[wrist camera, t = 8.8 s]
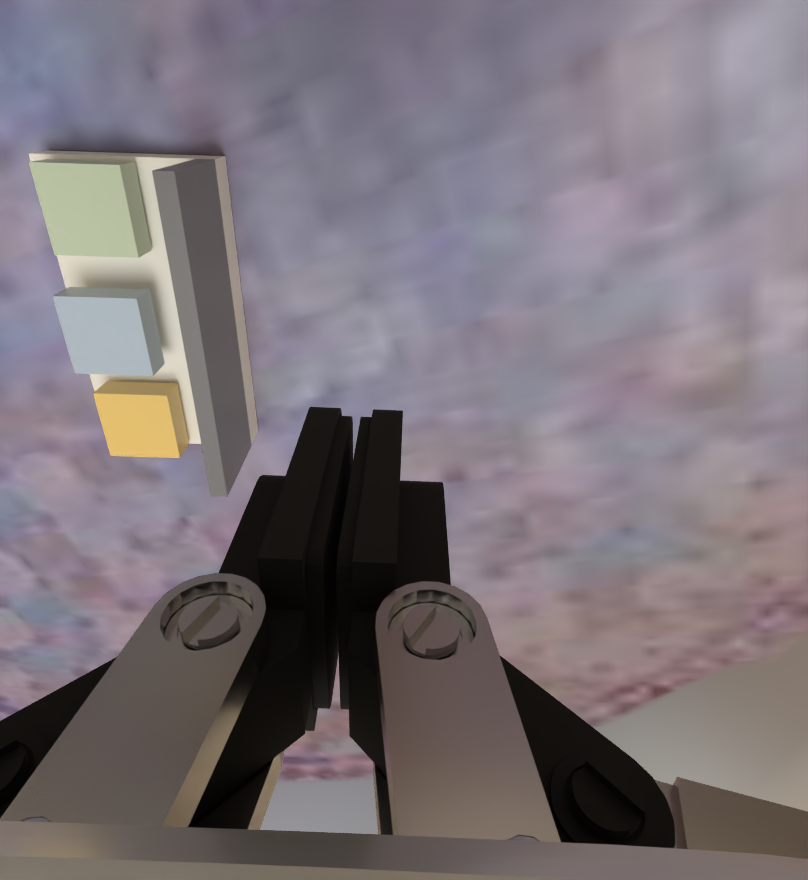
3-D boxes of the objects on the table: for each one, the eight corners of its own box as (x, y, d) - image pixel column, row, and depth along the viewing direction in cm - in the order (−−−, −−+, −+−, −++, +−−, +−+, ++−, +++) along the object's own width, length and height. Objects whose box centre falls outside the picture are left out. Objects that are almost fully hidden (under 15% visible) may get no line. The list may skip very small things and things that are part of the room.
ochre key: (106, 381, 37) (93, 393, 36) (177, 383, 37) (166, 395, 36) (122, 441, 39) (110, 455, 38) (189, 443, 39) (179, 457, 38)
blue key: (69, 286, 33) (52, 295, 31) (149, 289, 33) (136, 298, 31) (89, 361, 35) (74, 373, 34) (164, 363, 35) (153, 375, 34)
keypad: (48, 150, 32) (-50, 164, 25) (225, 156, 32) (174, 171, 25) (121, 426, 42) (62, 491, 35) (258, 431, 42) (227, 496, 35)
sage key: (48, 158, 30) (28, 162, 29) (134, 161, 30) (119, 164, 29) (71, 247, 33) (54, 255, 31) (151, 250, 33) (138, 257, 31)
